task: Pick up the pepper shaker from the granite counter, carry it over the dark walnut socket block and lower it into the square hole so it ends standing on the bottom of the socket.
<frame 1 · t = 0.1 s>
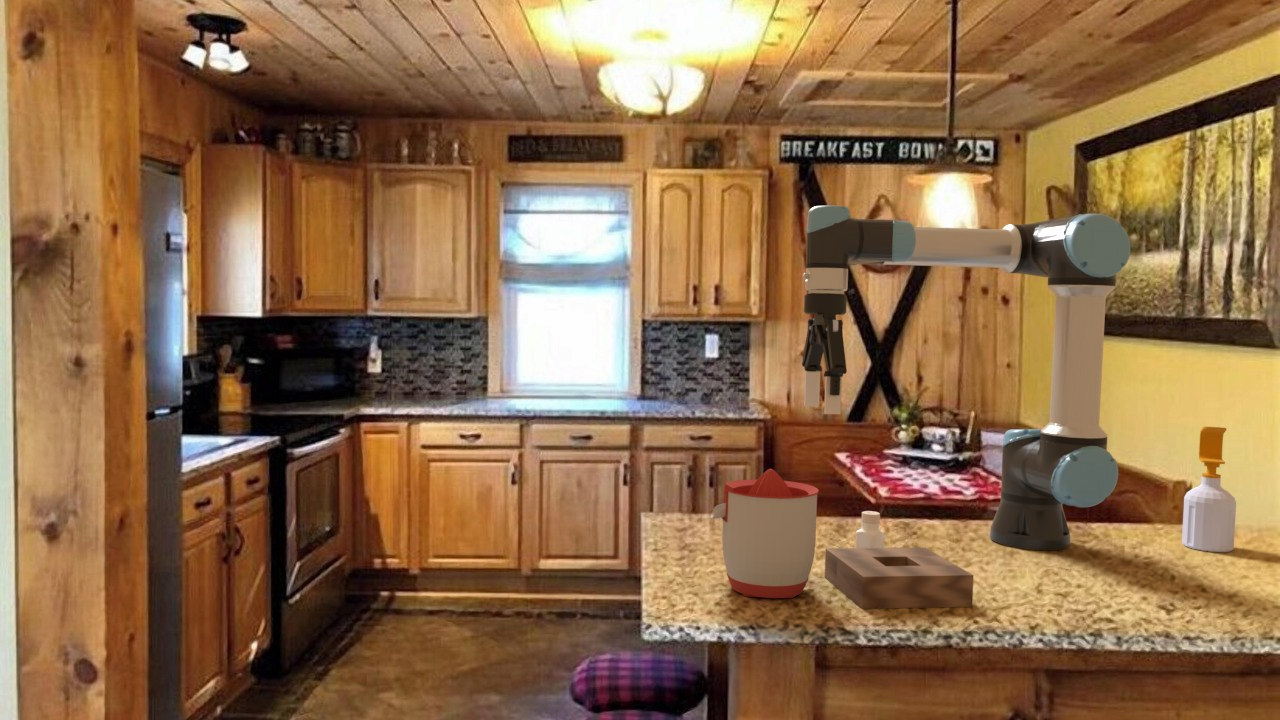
hand: (821, 410, 182), 28 cm above the counter, tool pointing down, fingers open, 13 cm apart
socket block: (895, 591, 165), on the counter
citrus juicer: (761, 591, 164), on the counter
soap bottle: (1207, 548, 202), on the counter
pepper shaker: (869, 565, 182), on the counter
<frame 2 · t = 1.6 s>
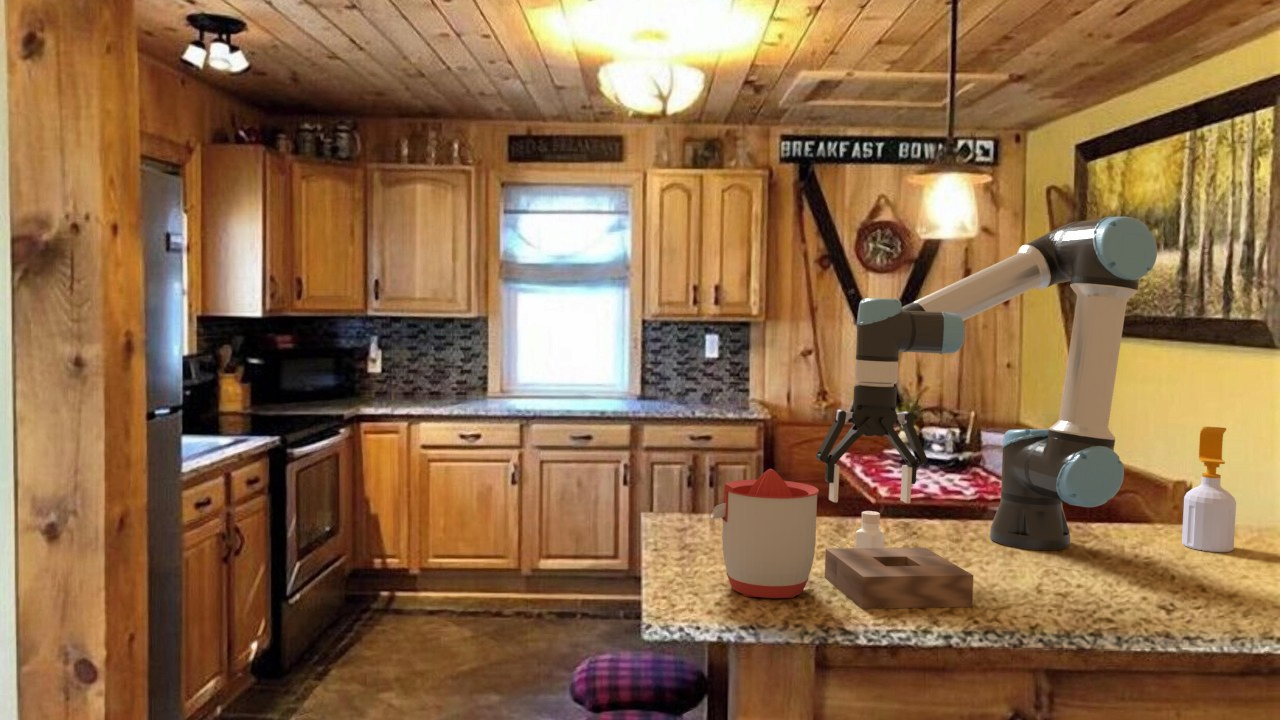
hand: (869, 501, 181), 12 cm above the counter, tool pointing down, fingers open, 13 cm apart
nothing on the counter moved.
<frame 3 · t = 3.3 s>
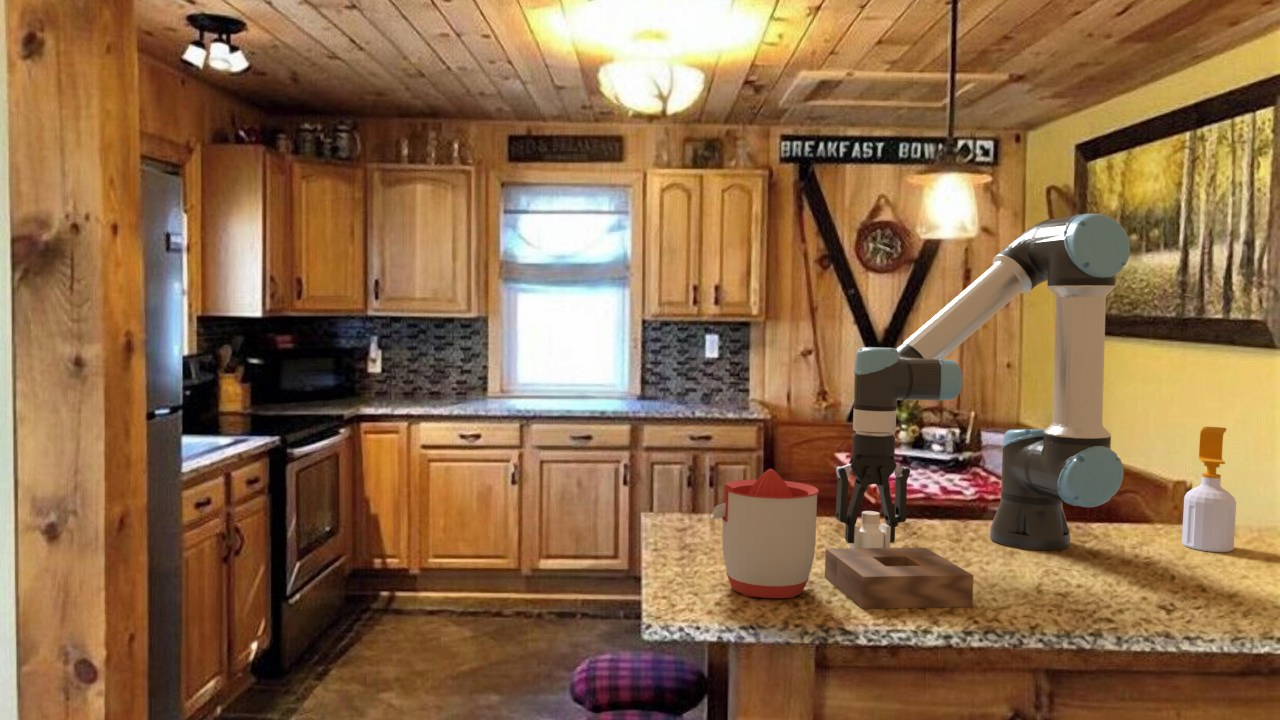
hand: (869, 560, 182), 1 cm above the counter, tool pointing down, fingers closed on pepper shaker, 5 cm apart
pepper shaker: (869, 565, 182), on the counter, touching gripper
everything else where it was.
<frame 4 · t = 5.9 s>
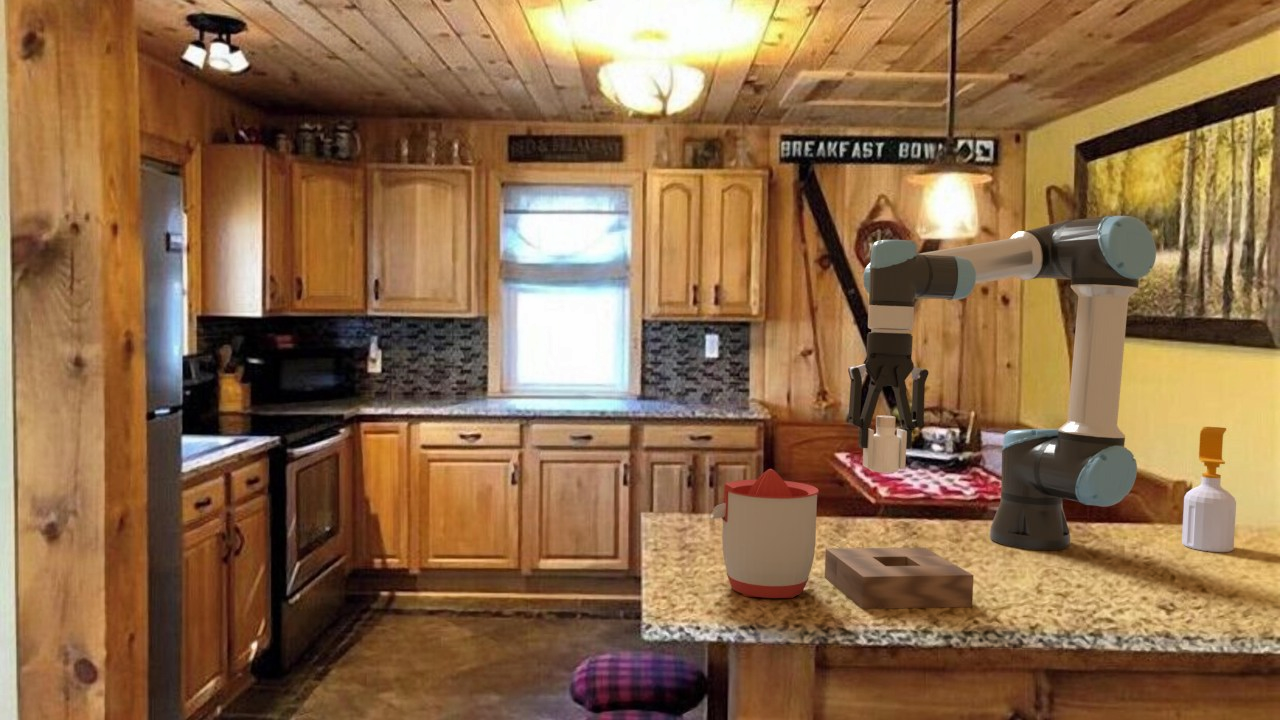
hand: (883, 467, 172), 19 cm above the counter, tool pointing down, fingers closed on pepper shaker, 5 cm apart
pepper shaker: (883, 472, 172), point 18 cm above the counter, touching gripper
everything else where it was.
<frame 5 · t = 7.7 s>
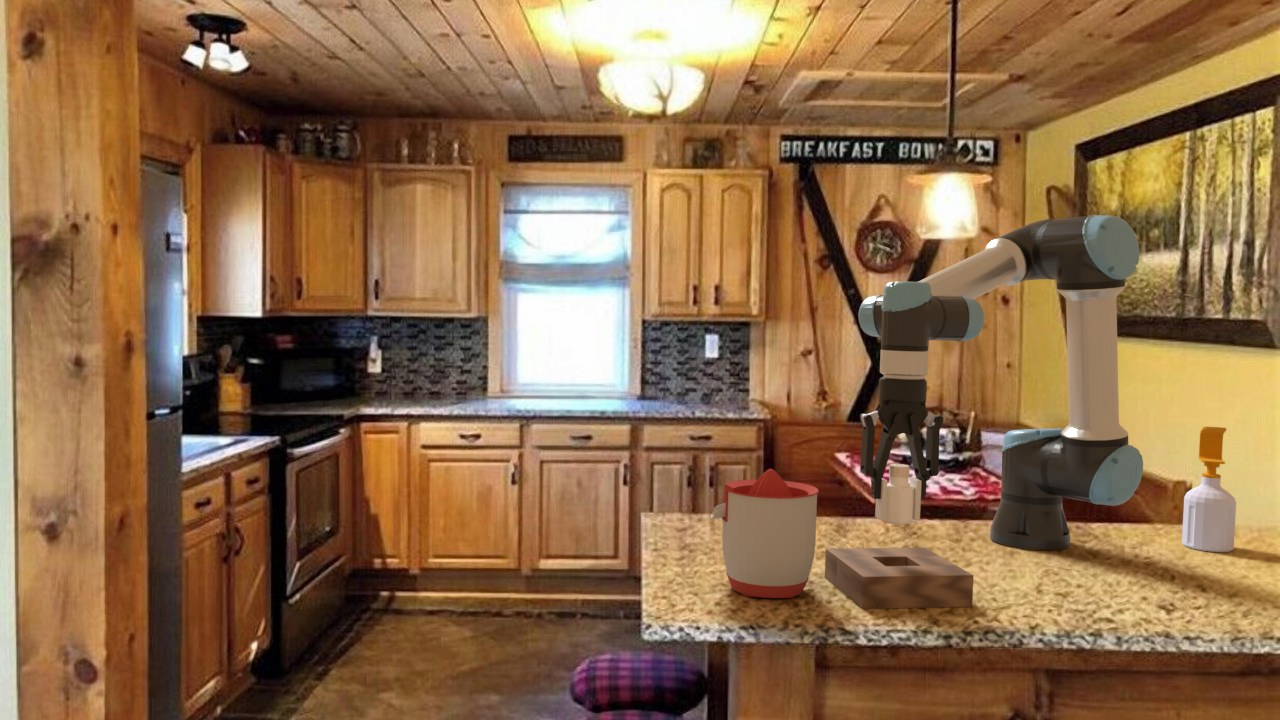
hand: (897, 518, 164), 12 cm above the counter, tool pointing down, fingers closed on pepper shaker, 5 cm apart
pepper shaker: (897, 524, 164), point 11 cm above the counter, touching gripper
everything else where it was.
when the fingers open (7 cm above the counter, at t = 9.0 s): pepper shaker drops 6 cm, resting in socket block.
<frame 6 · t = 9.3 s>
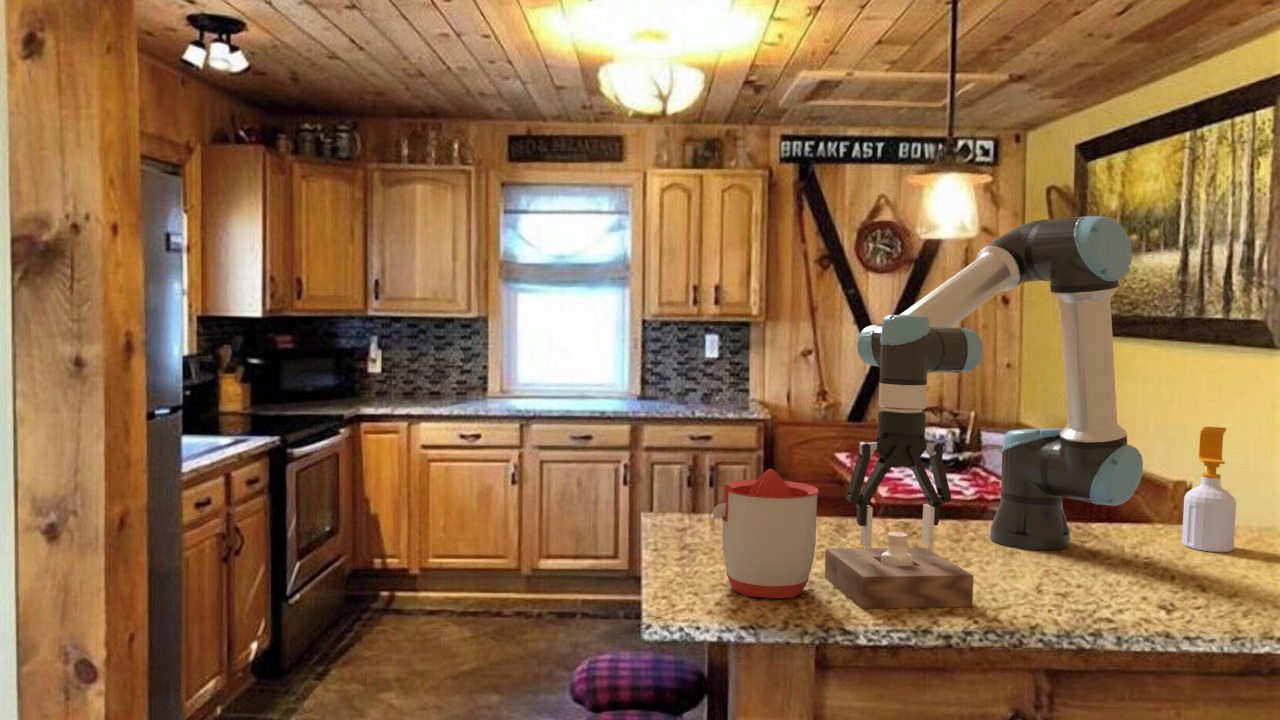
hand: (896, 545, 165), 8 cm above the counter, tool pointing down, fingers open, 10 cm apart
pepper shaker: (895, 592, 165), resting in socket block
everything else where it was.
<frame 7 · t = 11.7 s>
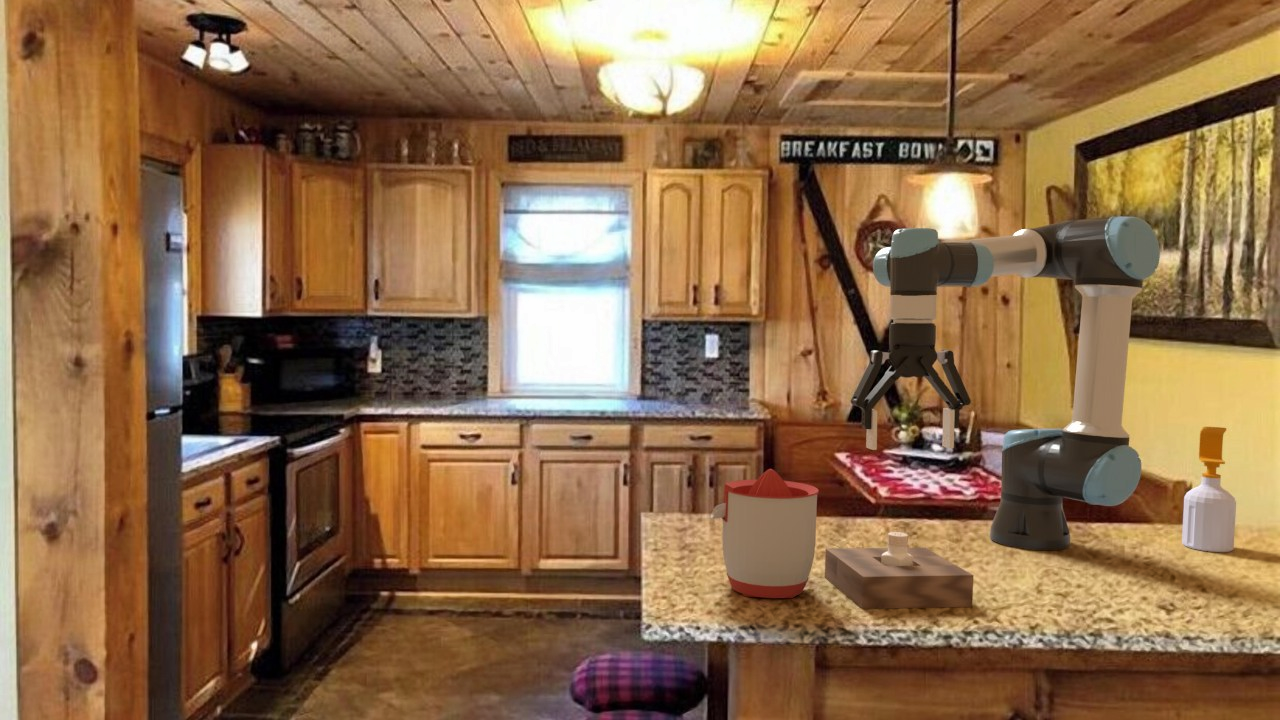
hand: (909, 448, 169), 23 cm above the counter, tool pointing down, fingers open, 13 cm apart
nothing on the counter moved.
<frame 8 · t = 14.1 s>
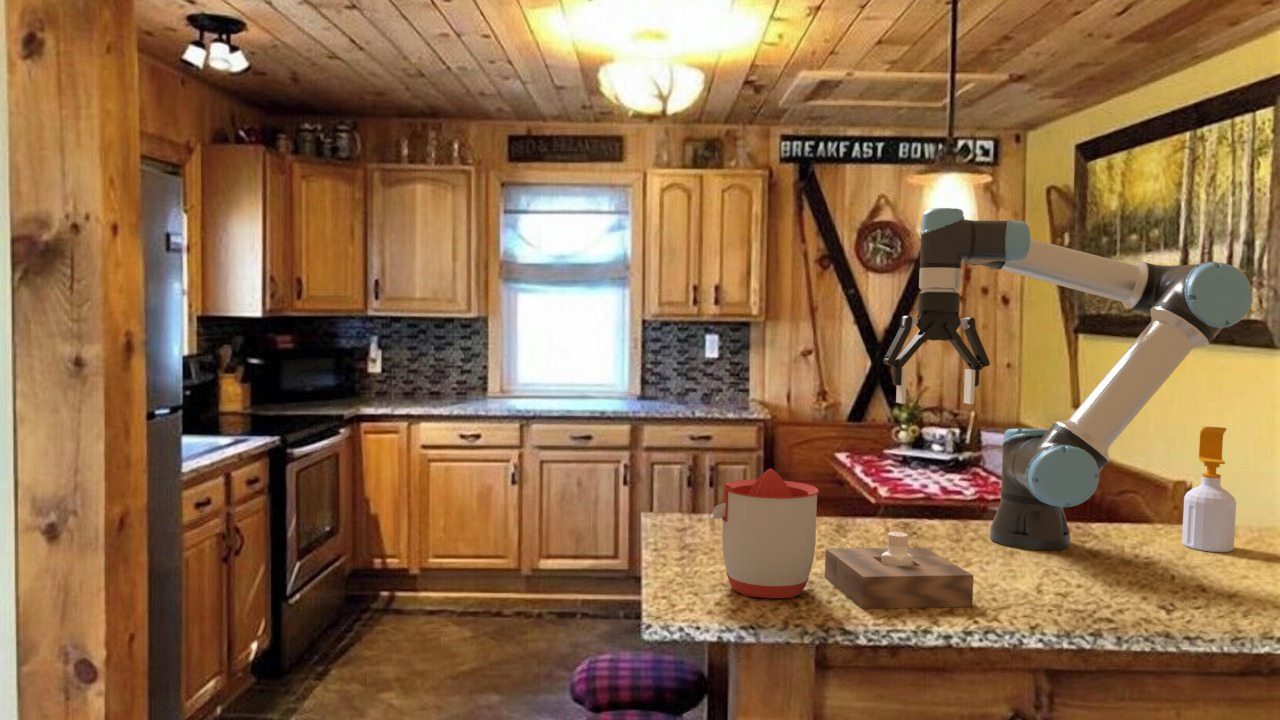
hand: (934, 403, 191), 29 cm above the counter, tool pointing down, fingers open, 13 cm apart
nothing on the counter moved.
at the end: pepper shaker 0.1 cm off-centre on the socket block, point 0.0 cm above the socket block's base; pepper shaker tilted 0°; the gripper is holding nothing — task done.
